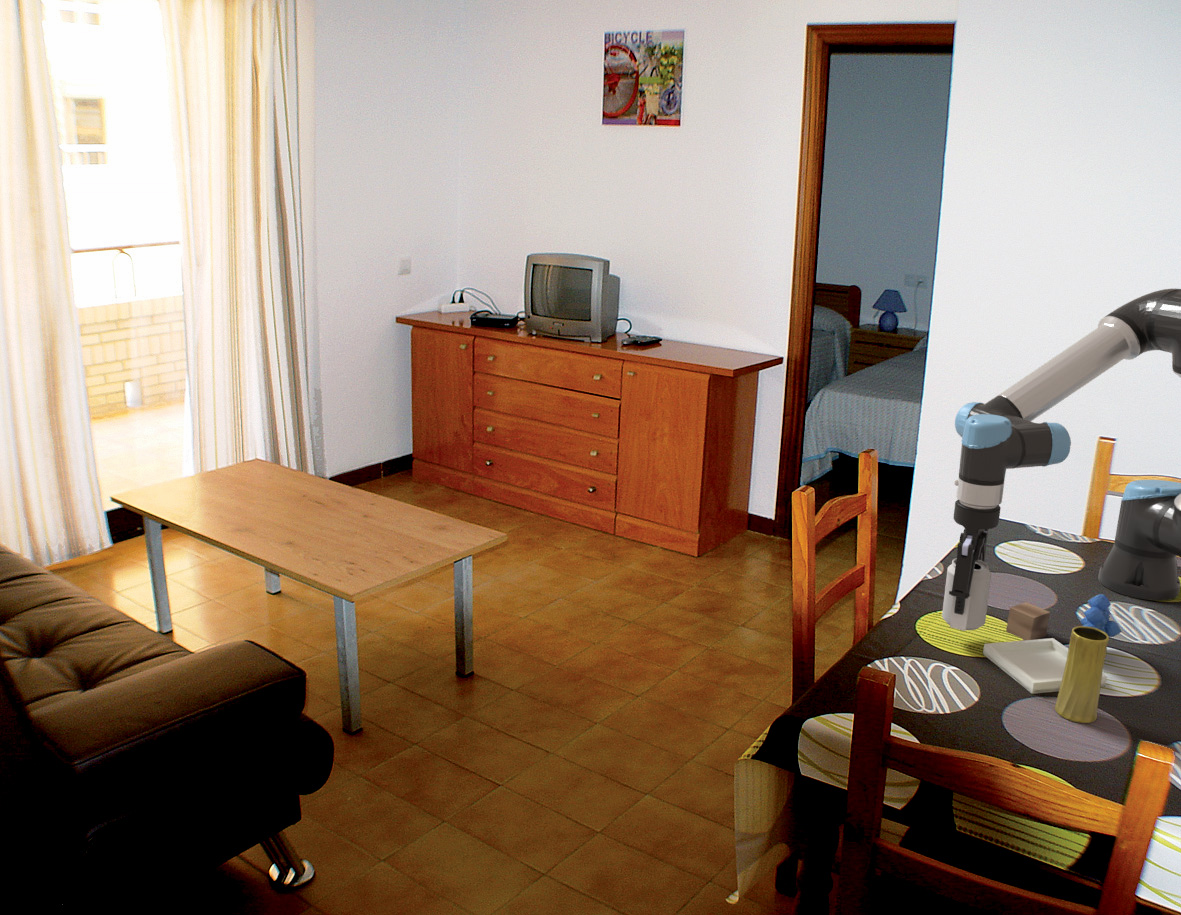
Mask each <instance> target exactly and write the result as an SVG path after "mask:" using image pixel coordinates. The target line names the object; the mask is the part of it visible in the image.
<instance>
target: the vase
mask: <svg viewBox="0 0 1181 915" xmlns="http://www.w3.org/2000/svg"><path fill="white" fill-rule="evenodd" d="M1109 641H1110V637H1109V636H1108V635H1107V634H1106V633H1105V632H1104V631H1102V630H1099V629H1097V628H1093V627H1087V626H1083V625H1078V626H1074V627H1073V628H1072V629H1071V634H1070V638H1069V643H1068V644H1069V645H1068V655H1067V660H1066V664H1065V669H1064V674H1063V678H1062V682H1061V685H1060V689H1059V691H1058V694H1057V698H1056V703H1055V705H1054V709H1055V712H1056V713H1057V714H1058V715H1059V716H1060V717H1062V718H1064V719H1065V720H1068V721H1070V722H1073V723H1074V722H1075V723H1080V724H1090V723H1094V722H1095V721H1096V720H1097V718H1098V707H1099V701H1100V700H1099V699H1100V693H1101V688H1102V687H1101V679H1102V673H1103V671H1104V666H1105V660H1106V656H1107V649H1108V644H1109Z"/></svg>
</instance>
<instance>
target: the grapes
mask: <svg viewBox="0 0 1181 915" xmlns="http://www.w3.org/2000/svg"><path fill="white" fill-rule="evenodd" d="M1087 602H1088V605H1089V606H1090V607H1089V608H1088V609H1086V610H1085V611H1083V615H1084V616H1085V617H1083V618H1081V619H1080V620H1079V621H1080V623H1081V626H1087V627H1093V628H1097V629H1099V630H1102V631H1104V632H1105V633H1106V634H1107V635H1108V636H1109V638H1114V637H1116V636H1117V635H1119V634H1120V633H1121V632H1123V630H1122V629H1121V628H1120V626H1119V624H1118V623H1117V621H1114V620H1110V618H1111V616H1110V615H1111V611H1110V610H1109V607H1110V606H1112V603H1111V601H1110V600H1109V599H1108V597H1107V596H1106V594H1102V593H1098V594H1097V595H1095V596H1093V597H1091V598H1090V599H1088V600H1087Z"/></svg>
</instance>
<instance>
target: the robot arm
mask: <svg viewBox="0 0 1181 915" xmlns="http://www.w3.org/2000/svg"><path fill="white" fill-rule="evenodd" d="M1151 351H1162V352H1164V353H1170V354H1171V355H1172V356H1171V359H1172V360H1171V362H1172V366H1171V367H1172V372H1173V373H1174V374H1175V375H1177V376H1178V377H1179V378H1181V288H1165V289H1164V288H1163V289H1159V290H1156V291H1152V292H1150V293H1147V294H1144V295H1142V296H1140V297H1136V298H1135V299H1133V300H1130V301H1128V302H1127V303H1125V304H1123V305H1121V306H1119V307H1118V308H1116V309H1114V310H1113V311H1111V312H1110V313H1108V314H1107V315H1105V316H1104V317H1103V318H1101V319H1100V320H1099V321H1098V324H1097V328H1095V329H1094V330H1092V331H1091V332H1089V333H1088V334H1087V335H1085V336H1083V337H1082V338H1080V339H1079V340H1078V341H1076V342H1075V343H1073V344H1072V345H1070V346H1068V347H1067V348H1066V349H1064V350H1063V351H1062V352H1060V353H1058V354H1056V355H1055V356H1054V357H1052V358H1051V359H1049V360H1048V361H1047V362H1045V363H1043V364H1042V365H1040V366H1039V367H1038V368H1036V369H1034V371H1032V372H1030V373H1029V374H1027V375H1026V376H1024V377H1022V379H1020V380H1019V381H1017V382H1016V383H1014V384H1013V385H1011V386H1009V387H1008V388H1006V389H1005V390H1004V391H1002V392H1000V393H999V394H998V395H996V396H995V397H993V398H991V399H990V400H988V401H987V402H986V403H983V402H977V401H973V402H968V403H966V404H964V405H963V406H961V408H960V409H959V410H958V411H957V413H956V416H955V419H954V428H955V431H956V433H957V434H958V435H959V437H960V438H961V450H960V459H959V470H958V480H957V479H956V480H955V481H954V482H953V483H954V485H955V486H957V490H956V495H955V496H956V499H957V500H956V501H955V503H954V510H953V521H954V522H955V523H956V524H958V525H960V526H962V527H963V528H964V529H963V532H961V533H960V535H959V542H958V543H957V546H956V547H957V552H956V558H957V560H956V567H955V573H954V580H953V586H952V591H949V594H950V595H951V596H953V604H952V612H951V621H950V625H949V628H952V629H955V630H960V631H964V632H966V631H967V630H966V627H967V619H968V611H969V604H970V596H969V595H970V594H969V592H970V587H971V582H972V577H973V572H974V569H979V568H981V566H980V565H978V564H975V562H976V561H978V560H982V561H984V562H986V555H987V553H986V552H987V543H988V536H989V534H988V533H989V530H991V529H994V528H996V527H997V526H999V523H1000V516H1001V515H1000V514H1001V509H1002V508H1001V506H1000V505H1001V504H1002V502H1003V494H1004V488H1005V478H1006V473H1007V472H1006V471H1007V470H1010V469H1013V470H1014V469H1020V468H1022V469H1023V468H1035V467H1047V466H1052V465H1059V464H1060V463H1062V462H1064V461H1065V460H1066V459H1067V458H1068V456H1069V454H1070V451H1071V445H1072V440H1071V439H1072V438H1071V436H1070V433H1069V431H1068V430H1067V428H1066V427H1065V426H1063V425H1062V424H1060V423H1057V422H1047V421H1044V422H1039V423H1038V422H1033V421H1034V420H1036V419H1037V418H1039V417H1040V416H1041V415H1043V414H1044V413H1046V412H1048V411H1049V410H1050V409H1052V408H1053V407H1055V406H1056V405H1057V404H1059V403H1061V402H1062V401H1064V400H1065V399H1066V398H1068V397H1070V396H1071V395H1072V394H1074V393H1076V392H1077V391H1079V390H1080V389H1081V388H1084V386H1086V385H1088V384H1089V383H1090V382H1092V381H1093V380H1095V379H1096V378H1097V377H1099V376H1101V375H1102V374H1103V373H1105V372H1106V371H1108V370H1109V369H1111V368H1113V367H1115V365H1117V364H1118V363H1120V362H1121V361H1123V360H1126V361H1127V360H1129V361H1130V360H1134V359H1136V358H1137V357H1139V356H1140V355H1142V354H1143V353H1146V352H1151ZM1177 557H1179V558H1181V482H1177V481H1171V480H1164V479H1162V480H1161V479H1139V480H1133V481H1130V482H1129V483H1128V484H1126V486H1125V488H1124V491H1123V495H1122V498H1121V502H1120V507H1119V514H1118V520H1117V526H1116V531H1115V536H1114V542H1113V545H1112V548H1111V550H1110V551H1109V553H1108V555H1107V557H1106V558H1105V560H1104V562H1103V563H1102V564H1101V566H1100V568H1099V572H1098V574H1097V575H1098V577H1097V579H1098V582H1099V584H1101V585H1102V586H1104V587H1105V588H1106V589H1109V590H1111V591H1113V592H1115V593H1118V594H1121V595H1123V596H1127V597H1131V598H1136V599H1140V600H1141V599H1142V600H1146V601H1169V600H1174V599H1176V598H1177V597H1178V596H1179V595H1180V594H1179V593H1180V589H1181V580H1180V576H1179V567H1178V562H1177Z"/></svg>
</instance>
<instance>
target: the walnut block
mask: <svg viewBox="0 0 1181 915" xmlns="http://www.w3.org/2000/svg"><path fill="white" fill-rule="evenodd" d="M1050 616H1051V612H1050V611H1049V610H1046V609H1043V608H1041V607H1038V606H1036V605H1035V604H1031V603H1029V602H1027V601H1025V602H1022V603H1019V604H1016V605H1014V606H1010V607H1009V610H1008V617H1007V622H1006V630H1005V632H1007V633H1009V634H1010V635H1013V636H1015V637H1017V638H1019V639H1022V640H1023V641H1025V640H1037V639H1043V638H1044V637H1047V633H1048V628H1049V621H1050Z"/></svg>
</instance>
